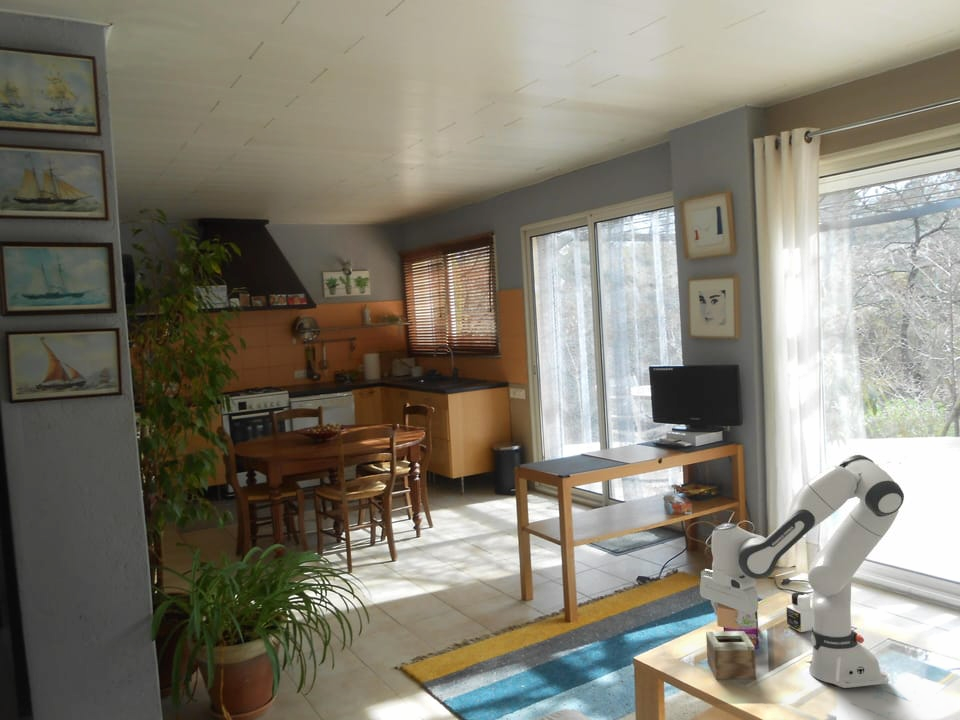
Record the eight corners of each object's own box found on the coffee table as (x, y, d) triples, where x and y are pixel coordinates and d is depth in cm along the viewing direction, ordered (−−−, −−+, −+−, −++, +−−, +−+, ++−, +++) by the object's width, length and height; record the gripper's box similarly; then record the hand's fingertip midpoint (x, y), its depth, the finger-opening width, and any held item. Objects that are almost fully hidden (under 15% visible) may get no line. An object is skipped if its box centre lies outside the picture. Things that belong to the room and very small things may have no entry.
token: (739, 626, 234) (738, 607, 234) (737, 629, 231) (736, 610, 231) (719, 622, 237) (719, 604, 237) (717, 626, 235) (716, 607, 234)
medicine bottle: (786, 625, 267) (785, 592, 266) (803, 622, 269) (801, 589, 268) (800, 632, 260) (799, 598, 259) (817, 629, 262) (816, 595, 262)
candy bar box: (758, 642, 253) (756, 595, 253) (759, 649, 249) (757, 600, 248) (724, 640, 257) (722, 593, 257) (723, 646, 252) (721, 598, 252)
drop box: (745, 661, 240) (744, 631, 240) (755, 678, 228) (754, 646, 228) (707, 662, 241) (706, 631, 241) (715, 679, 229) (714, 647, 229)
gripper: (694, 569, 241) (695, 611, 241) (746, 586, 223) (748, 631, 224) (707, 565, 244) (709, 606, 245) (760, 581, 227) (761, 626, 227)
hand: (728, 618), depth 234 cm, fingers closed on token, 7 cm apart
